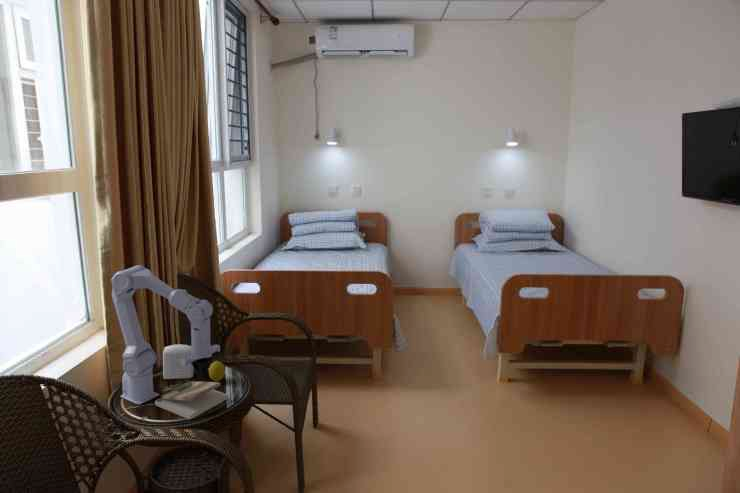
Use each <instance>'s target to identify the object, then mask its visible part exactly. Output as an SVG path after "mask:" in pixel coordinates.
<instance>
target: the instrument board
mask: <svg viewBox="0 0 740 493" xmlns="http://www.w3.org/2000/svg"><path fill="white" fill-rule="evenodd" d="M220 386H221V382H220V381H218V382H216V381H195V380H193V381H192V380H191V381H190V380H189V381H188V382H185V383H183V384H181V385H179V386H177V387H176V388H175V389H172V390H170V391H168V392H166V393H164V394H161V395H160V398H161V399H172V400H187V401H191V400H193V399H195V398H197V397H199V396H201V395H203V394H205V393H207V392H209V391H211V390H213V389H214V390H216V388H218V387H220Z"/></svg>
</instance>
